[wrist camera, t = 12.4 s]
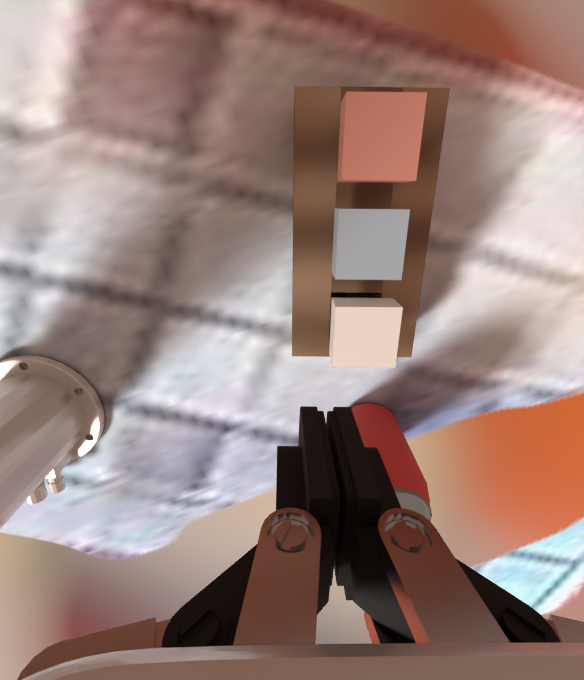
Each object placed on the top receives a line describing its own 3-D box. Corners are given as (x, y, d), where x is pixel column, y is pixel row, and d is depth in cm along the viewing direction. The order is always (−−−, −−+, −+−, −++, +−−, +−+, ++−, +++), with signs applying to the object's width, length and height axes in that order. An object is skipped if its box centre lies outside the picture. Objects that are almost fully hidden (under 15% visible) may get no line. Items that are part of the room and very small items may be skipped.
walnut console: (395, 335, 34) (411, 357, 30) (292, 335, 34) (292, 356, 30) (423, 107, 28) (449, 88, 23) (294, 105, 28) (294, 86, 23)
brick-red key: (385, 185, 28) (416, 180, 21) (329, 185, 28) (341, 179, 21) (391, 120, 26) (427, 92, 19) (332, 120, 26) (346, 91, 19)
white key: (372, 331, 32) (395, 367, 25) (323, 331, 32) (332, 367, 25) (377, 283, 30) (402, 307, 23) (325, 282, 30) (335, 306, 23)
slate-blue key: (376, 262, 30) (401, 279, 24) (325, 261, 30) (335, 279, 24) (381, 207, 29) (410, 209, 22) (327, 206, 29) (339, 208, 22)
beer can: (373, 460, 40) (404, 560, 29) (323, 436, 39) (336, 531, 28) (408, 416, 38) (457, 507, 27) (356, 390, 37) (385, 472, 26)
